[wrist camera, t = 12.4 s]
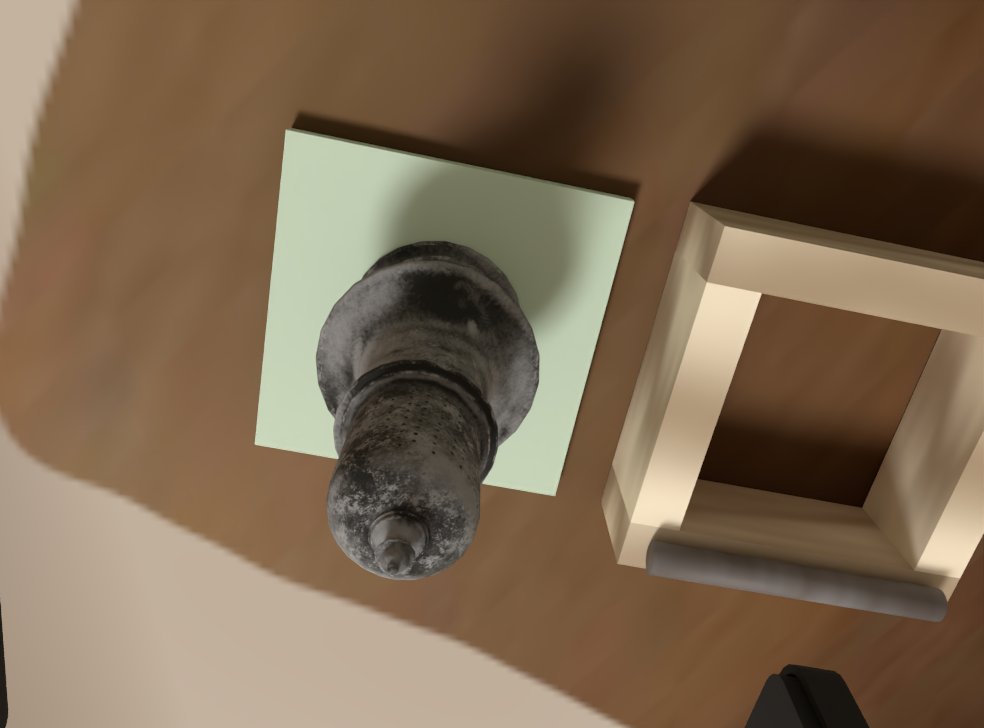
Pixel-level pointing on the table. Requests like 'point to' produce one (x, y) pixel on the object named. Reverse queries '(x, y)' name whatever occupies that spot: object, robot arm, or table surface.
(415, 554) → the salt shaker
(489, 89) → the table surface
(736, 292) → the holder
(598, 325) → the mat
